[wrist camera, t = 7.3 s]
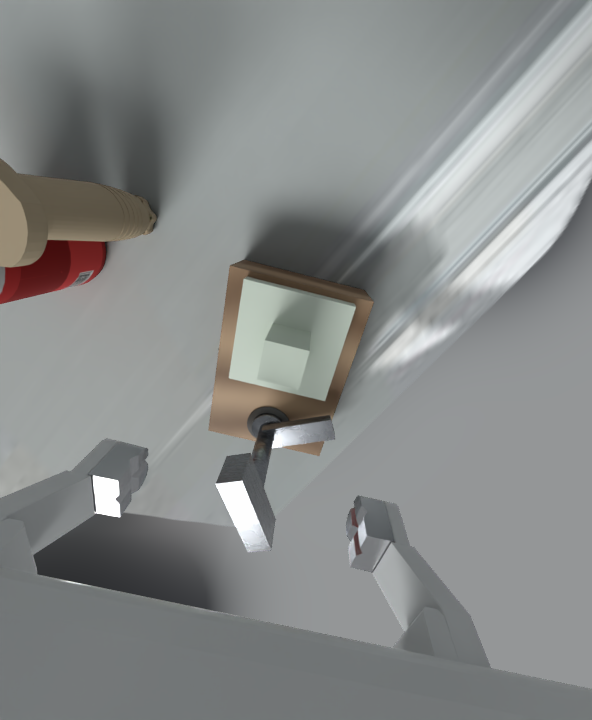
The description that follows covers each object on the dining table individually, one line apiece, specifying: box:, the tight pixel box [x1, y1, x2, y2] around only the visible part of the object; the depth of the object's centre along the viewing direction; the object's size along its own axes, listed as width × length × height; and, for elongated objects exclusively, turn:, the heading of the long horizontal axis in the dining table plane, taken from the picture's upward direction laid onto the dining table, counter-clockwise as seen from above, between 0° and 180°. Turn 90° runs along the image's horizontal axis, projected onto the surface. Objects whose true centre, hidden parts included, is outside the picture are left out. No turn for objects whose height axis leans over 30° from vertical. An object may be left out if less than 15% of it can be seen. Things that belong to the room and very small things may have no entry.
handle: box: [0, 159, 157, 267], centre depth 20 cm, size 5×6×15 cm
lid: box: [229, 277, 356, 401], centre depth 23 cm, size 9×9×5 cm
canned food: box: [0, 240, 106, 304], centre depth 23 cm, size 8×8×11 cm
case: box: [209, 260, 374, 456], centre depth 29 cm, size 17×12×5 cm
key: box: [216, 413, 335, 552], centre depth 24 cm, size 8×7×10 cm
